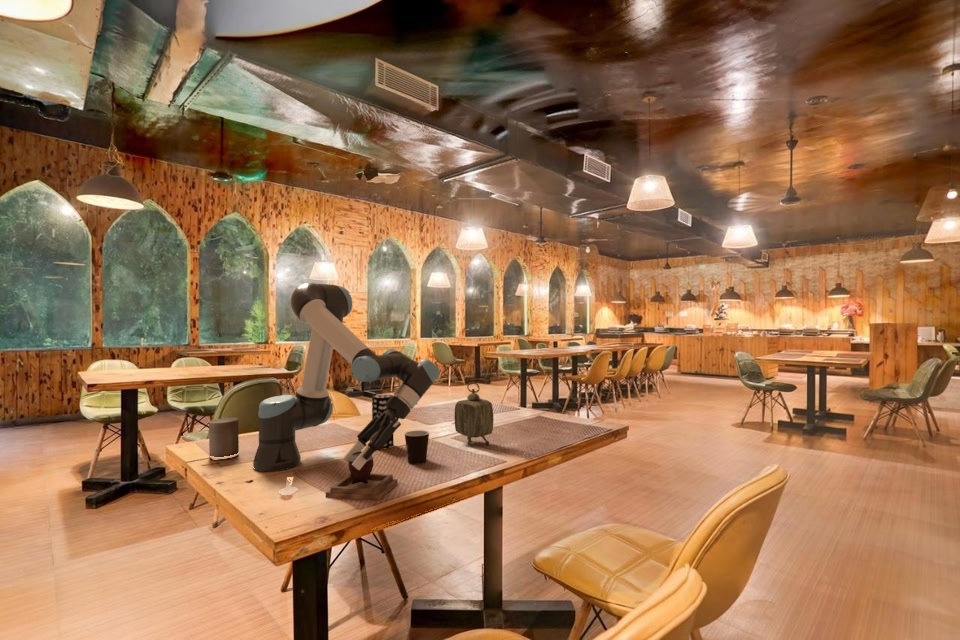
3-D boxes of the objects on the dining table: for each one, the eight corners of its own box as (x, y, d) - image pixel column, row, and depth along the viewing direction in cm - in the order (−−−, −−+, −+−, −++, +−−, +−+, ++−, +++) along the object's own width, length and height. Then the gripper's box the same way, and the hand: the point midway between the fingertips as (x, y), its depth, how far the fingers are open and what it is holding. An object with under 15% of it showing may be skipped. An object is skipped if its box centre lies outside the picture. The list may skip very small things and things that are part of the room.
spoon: (299, 476, 149) (299, 474, 149) (297, 495, 132) (297, 493, 132) (281, 478, 147) (281, 476, 147) (277, 498, 130) (277, 496, 130)
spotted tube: (397, 445, 185) (397, 395, 185) (383, 450, 178) (382, 398, 178) (382, 442, 189) (382, 394, 190) (367, 447, 182) (367, 396, 183)
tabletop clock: (493, 445, 184) (493, 382, 185) (477, 449, 178) (477, 384, 178) (469, 438, 195) (468, 379, 195) (452, 442, 188) (452, 381, 189)
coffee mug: (424, 465, 158) (424, 436, 158) (401, 464, 159) (400, 435, 160) (434, 456, 169) (434, 429, 169) (412, 455, 171) (412, 428, 171)
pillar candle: (244, 453, 175) (244, 414, 175) (227, 461, 165) (227, 419, 165) (220, 453, 176) (220, 414, 176) (202, 460, 166) (202, 419, 166)
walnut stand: (325, 496, 130) (325, 487, 130) (348, 480, 143) (348, 472, 143) (379, 500, 127) (379, 490, 127) (397, 483, 141) (397, 474, 141)
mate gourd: (344, 481, 135) (343, 430, 135) (367, 474, 141) (366, 425, 141) (358, 487, 130) (357, 434, 130) (381, 480, 136) (381, 429, 136)
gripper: (424, 414, 136) (372, 481, 127) (396, 405, 152) (348, 463, 143) (408, 398, 133) (353, 465, 124) (381, 390, 149) (331, 449, 140)
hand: (351, 464), depth 133 cm, fingers closed on mate gourd, 7 cm apart
